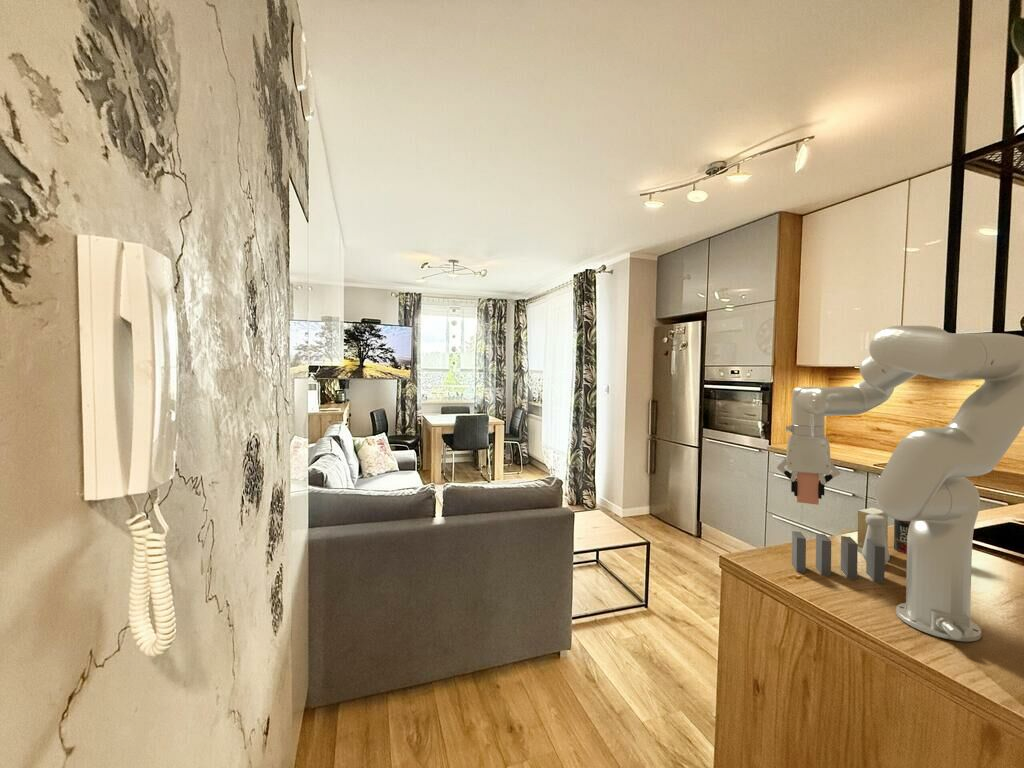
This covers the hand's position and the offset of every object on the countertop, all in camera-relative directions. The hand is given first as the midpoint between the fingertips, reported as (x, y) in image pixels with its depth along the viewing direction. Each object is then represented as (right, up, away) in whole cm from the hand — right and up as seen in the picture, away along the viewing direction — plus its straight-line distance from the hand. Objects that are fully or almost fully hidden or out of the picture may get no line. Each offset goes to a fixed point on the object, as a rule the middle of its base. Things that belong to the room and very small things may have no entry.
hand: (807, 495), depth 123 cm
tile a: (-7, -18, -6) cm, 20 cm away
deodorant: (+31, -17, +4) cm, 36 cm away
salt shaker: (+16, -18, -4) cm, 24 cm away
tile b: (-2, -18, -8) cm, 20 cm away
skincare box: (+20, -17, +3) cm, 27 cm away
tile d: (+9, -18, -12) cm, 23 cm away
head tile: (0, -2, 0) cm, 2 cm away
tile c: (+4, -18, -10) cm, 21 cm away
